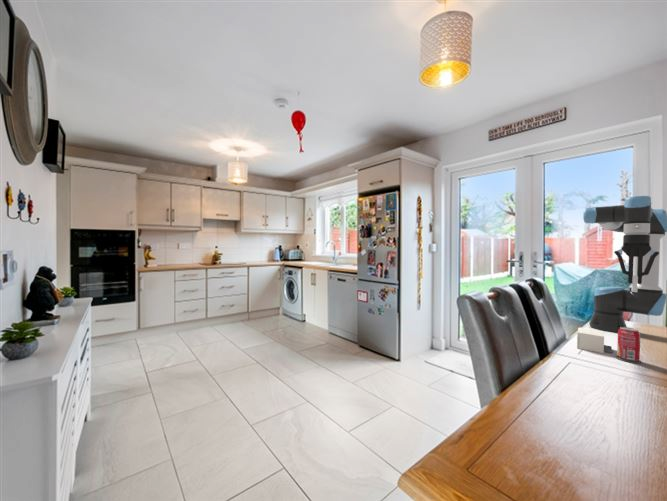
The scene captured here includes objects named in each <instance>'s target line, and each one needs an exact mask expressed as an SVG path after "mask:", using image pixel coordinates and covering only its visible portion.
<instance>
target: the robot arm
mask: <svg viewBox="0 0 667 501" xmlns="http://www.w3.org/2000/svg"><path fill="white" fill-rule="evenodd" d="M582 217H583V218H582V219H583V222H584V223H585V224H598V225H599V226H600V227H601V228H603V229H605V230H607V231H611V232H615V233H623V234H624V235H623V236H622V237H623V238H622V241H623V242H622V243H623V244H622V246H621V248H619V249H617V250H615V251H614V252H613V253H614V254H615V255H616V257H617V260H618V263H619V266H620V270H621V272H622V274H625V275H627V283H628V284H631V285H630V286H629V289H627V290H626V289H625V288H624V286H600V287H596V288H595V289H594V294H593V298H594V299H593V314H592V316H591V318H590V320H589V325H590V326H591V327H590V326H589V327H590V328H592V327H594V328H593V329H595V328H597V329H596V330H599V329H601V330H600V331H604V330H605V331H604V332H610V333H611V332H613V333H618V330H619V329H620V327H627V323H626V321H625V318H624V313H631V314H637V315H646V316H654V317H660V316H662V315H663V312H664V309H665V304H666V301H667V293H664V289H662V288H661V286H659V284H660V283H659V282H660V281H659V279H660V278H659V277H660V254H661V253H660V252H661V250H660V249H661V239H662V238H664V236H666V233H667V210H665V209H662V208H660V209H659V208H654V209H653V207H652V196H650V195H649V196H648V195H637V196H635V195H634V196H628V197H626V198H625V199H624V204H623V205H610V206H609V205H607V206H592V207H585V209H584V210H583V216H582ZM623 253H624V254H625V255H626V256H627V257H628V266H627V267H628V268H626V265H625V262H624V259H623V256H622V255H623ZM627 269H628V271H627Z"/></svg>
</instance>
